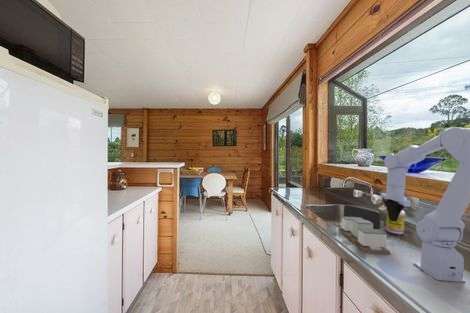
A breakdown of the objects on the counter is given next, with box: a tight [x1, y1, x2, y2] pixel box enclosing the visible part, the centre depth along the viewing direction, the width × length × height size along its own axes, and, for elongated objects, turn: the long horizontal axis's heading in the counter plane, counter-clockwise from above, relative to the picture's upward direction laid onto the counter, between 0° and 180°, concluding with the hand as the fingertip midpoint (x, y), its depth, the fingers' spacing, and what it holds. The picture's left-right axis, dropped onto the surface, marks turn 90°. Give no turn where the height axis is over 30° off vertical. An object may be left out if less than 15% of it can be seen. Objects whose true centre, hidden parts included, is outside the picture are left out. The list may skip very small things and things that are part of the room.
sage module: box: [352, 219, 373, 238], centre depth 90 cm, size 4×6×6 cm, turn 86°
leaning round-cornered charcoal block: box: [343, 204, 382, 230], centre depth 107 cm, size 16×5×9 cm, turn 39°
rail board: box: [338, 226, 391, 255], centre depth 90 cm, size 22×9×2 cm, turn 177°
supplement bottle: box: [385, 209, 406, 235], centre depth 102 cm, size 7×7×13 cm
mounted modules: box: [341, 215, 388, 248], centre depth 90 cm, size 19×8×5 cm, turn 177°
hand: (393, 220), depth 86 cm, fingers closed
